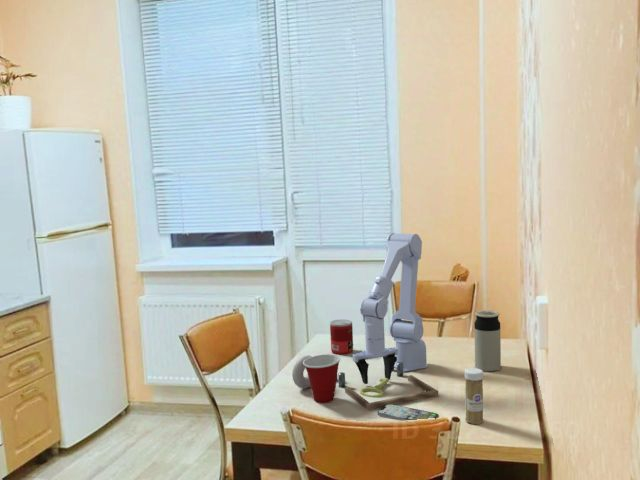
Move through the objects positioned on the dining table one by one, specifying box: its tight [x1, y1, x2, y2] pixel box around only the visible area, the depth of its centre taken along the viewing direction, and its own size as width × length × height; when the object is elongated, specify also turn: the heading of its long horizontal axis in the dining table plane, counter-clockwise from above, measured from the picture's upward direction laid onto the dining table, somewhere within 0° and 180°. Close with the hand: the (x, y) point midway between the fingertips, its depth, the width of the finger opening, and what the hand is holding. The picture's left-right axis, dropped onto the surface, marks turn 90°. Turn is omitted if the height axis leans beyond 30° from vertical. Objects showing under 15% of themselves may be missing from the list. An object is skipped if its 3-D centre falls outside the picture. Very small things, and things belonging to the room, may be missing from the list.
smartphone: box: [376, 404, 439, 421], centre depth 162 cm, size 7×1×15 cm
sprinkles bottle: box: [464, 367, 484, 425], centre depth 155 cm, size 5×5×14 cm
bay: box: [344, 374, 439, 411], centre depth 177 cm, size 22×15×2 cm
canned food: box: [329, 319, 354, 356], centre depth 219 cm, size 8×8×11 cm
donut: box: [291, 354, 313, 389], centre depth 185 cm, size 10×4×10 cm, turn 135°
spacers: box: [337, 362, 404, 388], centre depth 191 cm, size 22×8×4 cm, turn 111°
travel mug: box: [473, 310, 502, 372], centre depth 195 cm, size 8×8×18 cm
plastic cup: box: [303, 353, 341, 404], centre depth 175 cm, size 11×11×12 cm
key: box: [359, 377, 390, 398], centre depth 181 cm, size 7×12×2 cm, turn 164°
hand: (376, 380), depth 186 cm, fingers open, 7 cm apart
